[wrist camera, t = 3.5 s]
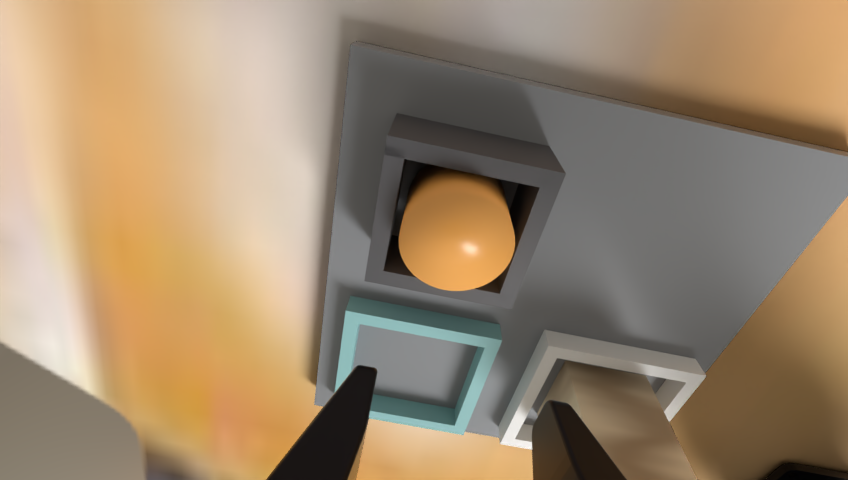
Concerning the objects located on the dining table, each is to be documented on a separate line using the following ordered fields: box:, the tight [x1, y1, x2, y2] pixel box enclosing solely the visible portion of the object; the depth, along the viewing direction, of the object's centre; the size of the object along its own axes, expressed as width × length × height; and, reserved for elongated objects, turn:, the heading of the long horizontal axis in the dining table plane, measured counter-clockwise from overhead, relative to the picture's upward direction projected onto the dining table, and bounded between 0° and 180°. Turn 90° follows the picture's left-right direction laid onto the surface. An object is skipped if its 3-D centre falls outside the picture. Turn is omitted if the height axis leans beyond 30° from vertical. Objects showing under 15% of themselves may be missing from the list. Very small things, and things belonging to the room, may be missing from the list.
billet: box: [537, 361, 698, 480], centre depth 18 cm, size 4×4×7 cm
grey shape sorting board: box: [314, 41, 848, 450], centre depth 18 cm, size 18×18×4 cm
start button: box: [399, 164, 515, 291], centre depth 14 cm, size 4×4×3 cm
